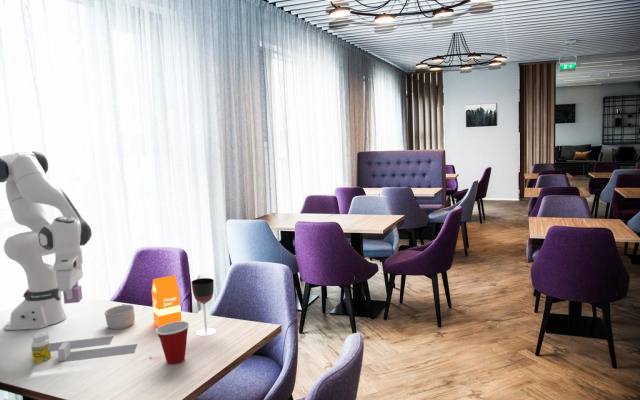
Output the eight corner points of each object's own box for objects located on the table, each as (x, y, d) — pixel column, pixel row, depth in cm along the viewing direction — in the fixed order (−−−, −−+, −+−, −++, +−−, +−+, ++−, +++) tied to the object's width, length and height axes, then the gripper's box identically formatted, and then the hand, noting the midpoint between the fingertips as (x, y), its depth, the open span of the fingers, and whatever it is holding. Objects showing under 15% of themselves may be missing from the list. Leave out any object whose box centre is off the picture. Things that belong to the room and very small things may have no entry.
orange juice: (182, 325, 196) (178, 276, 194) (159, 331, 192) (155, 281, 189) (175, 320, 203) (172, 273, 201) (154, 325, 198) (150, 277, 196)
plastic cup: (164, 354, 170) (161, 320, 169) (195, 353, 170) (193, 319, 168) (153, 368, 159) (150, 332, 158) (186, 367, 159) (183, 331, 157)
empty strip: (58, 365, 164) (56, 350, 163) (65, 355, 172) (63, 341, 171) (134, 355, 169) (133, 341, 169) (137, 346, 177) (136, 333, 176)
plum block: (64, 303, 183) (63, 290, 182) (68, 299, 188) (66, 286, 187) (78, 302, 184) (77, 289, 183) (82, 298, 189) (81, 285, 188)
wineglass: (202, 337, 183) (198, 285, 181) (191, 331, 189) (187, 281, 187) (221, 331, 188) (217, 281, 186) (209, 326, 195) (206, 276, 192)
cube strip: (37, 355, 173) (35, 341, 172) (44, 346, 180) (43, 333, 180) (109, 346, 178) (108, 333, 177) (114, 338, 185) (112, 325, 185)
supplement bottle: (53, 358, 171) (50, 331, 169) (48, 364, 165) (45, 337, 164) (36, 360, 169) (33, 333, 168) (31, 366, 164) (27, 339, 163)
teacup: (128, 332, 191) (127, 313, 190) (101, 333, 192) (99, 313, 191) (142, 320, 205) (140, 301, 204) (116, 320, 205) (115, 302, 204)
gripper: (67, 254, 193) (71, 288, 195) (51, 267, 173) (55, 305, 175) (85, 253, 195) (88, 287, 196) (71, 265, 175) (74, 303, 176)
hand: (72, 296), depth 186 cm, fingers closed on plum block, 5 cm apart
